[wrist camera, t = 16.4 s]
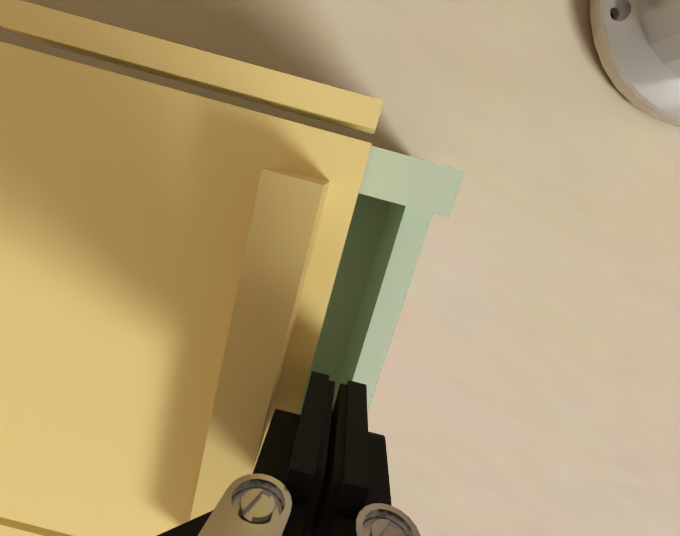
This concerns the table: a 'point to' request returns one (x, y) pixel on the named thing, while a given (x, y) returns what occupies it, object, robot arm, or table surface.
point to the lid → (155, 271)
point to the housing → (379, 264)
